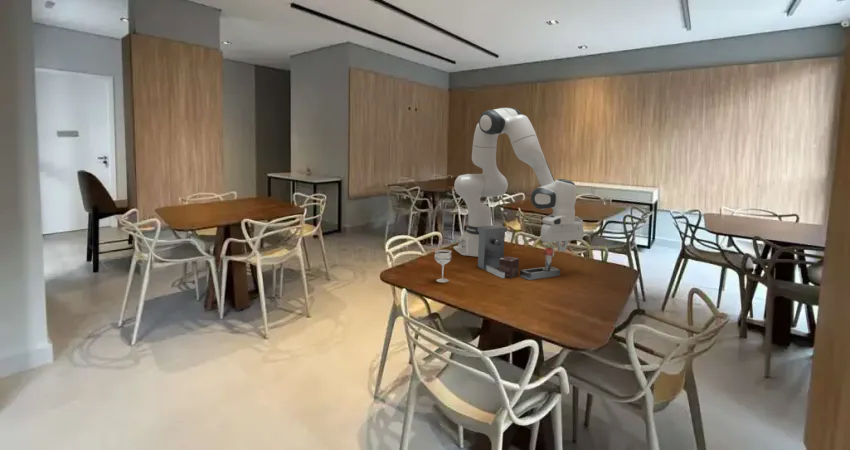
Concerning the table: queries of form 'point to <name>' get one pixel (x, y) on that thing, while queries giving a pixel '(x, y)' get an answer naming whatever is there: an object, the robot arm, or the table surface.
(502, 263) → the box
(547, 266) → the lever
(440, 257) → the wineglass
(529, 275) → the lever rail
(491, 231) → the grey coffee machine
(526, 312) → the table surface
